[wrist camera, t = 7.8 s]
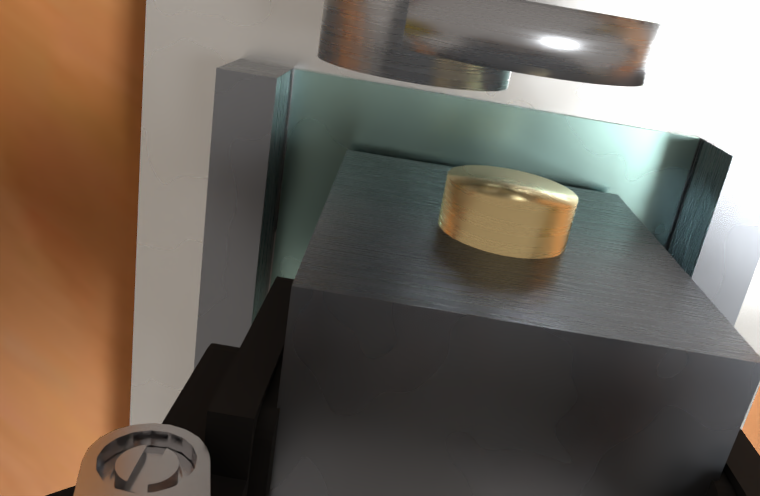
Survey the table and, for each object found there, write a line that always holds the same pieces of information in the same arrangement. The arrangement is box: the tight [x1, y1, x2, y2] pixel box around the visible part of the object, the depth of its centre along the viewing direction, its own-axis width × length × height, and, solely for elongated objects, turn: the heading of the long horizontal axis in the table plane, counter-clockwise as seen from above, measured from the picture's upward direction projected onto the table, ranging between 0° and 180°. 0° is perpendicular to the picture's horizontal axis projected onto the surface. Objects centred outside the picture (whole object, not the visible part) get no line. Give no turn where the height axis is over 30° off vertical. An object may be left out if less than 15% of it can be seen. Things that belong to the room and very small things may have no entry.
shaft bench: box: [130, 0, 760, 430], centre depth 13 cm, size 24×13×6 cm, turn 171°
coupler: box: [269, 150, 760, 496], centre depth 11 cm, size 6×5×6 cm
